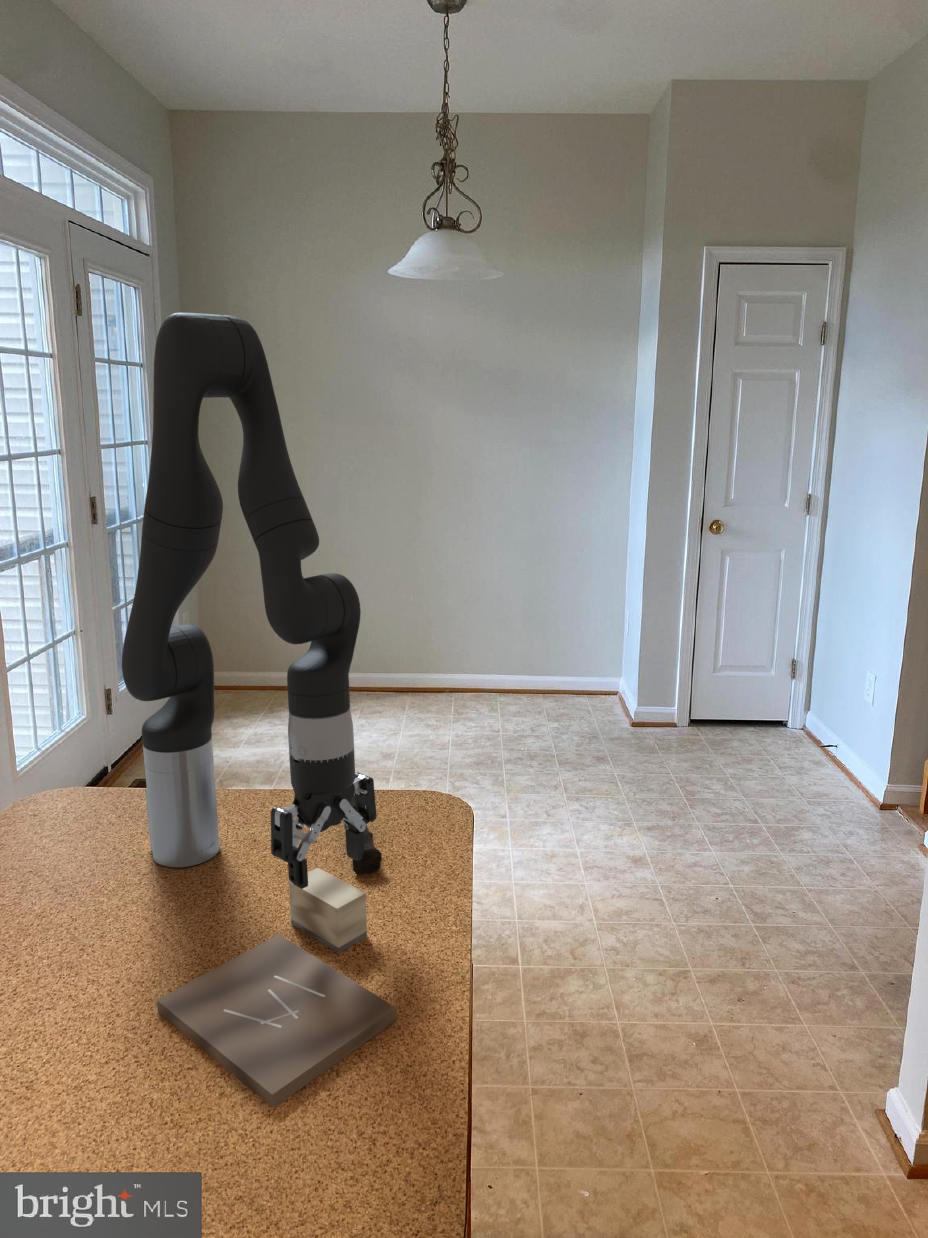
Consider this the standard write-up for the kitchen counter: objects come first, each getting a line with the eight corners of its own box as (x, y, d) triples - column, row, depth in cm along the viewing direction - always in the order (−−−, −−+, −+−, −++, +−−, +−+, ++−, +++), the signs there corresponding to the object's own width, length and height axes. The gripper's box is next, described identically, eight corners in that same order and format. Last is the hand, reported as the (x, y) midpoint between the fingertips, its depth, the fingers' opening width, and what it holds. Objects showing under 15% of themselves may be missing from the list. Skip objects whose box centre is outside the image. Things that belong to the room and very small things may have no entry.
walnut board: (157, 1012, 96) (156, 1000, 95) (279, 945, 107) (278, 934, 107) (273, 1108, 83) (272, 1094, 83) (396, 1020, 95) (396, 1008, 94)
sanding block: (291, 924, 112) (288, 881, 110) (319, 909, 115) (317, 867, 114) (338, 954, 106) (337, 908, 104) (366, 937, 109) (365, 893, 108)
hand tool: (382, 875, 124) (381, 844, 122) (353, 878, 123) (352, 847, 122) (365, 814, 141) (365, 787, 140) (340, 816, 141) (339, 789, 139)
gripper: (346, 722, 112) (351, 840, 116) (251, 755, 102) (260, 884, 105) (388, 736, 107) (392, 859, 111) (292, 772, 97) (300, 907, 101)
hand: (328, 871), depth 108 cm, fingers open, 8 cm apart
